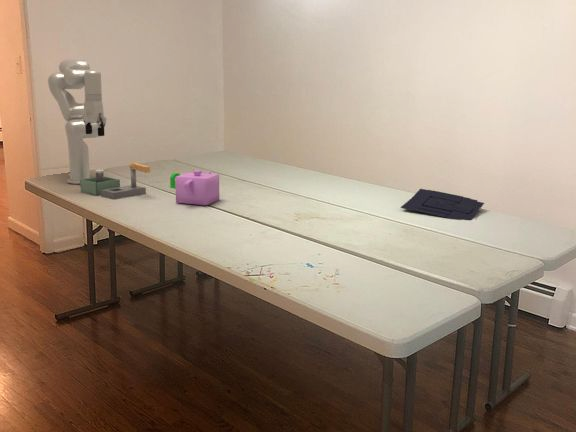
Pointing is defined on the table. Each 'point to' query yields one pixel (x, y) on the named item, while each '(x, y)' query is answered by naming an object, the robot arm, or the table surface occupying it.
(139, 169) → the keeper arm
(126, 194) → the grey post stand
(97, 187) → the bin
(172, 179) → the mechanical part
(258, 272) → the table surface
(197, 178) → the teapot
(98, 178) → the plug
